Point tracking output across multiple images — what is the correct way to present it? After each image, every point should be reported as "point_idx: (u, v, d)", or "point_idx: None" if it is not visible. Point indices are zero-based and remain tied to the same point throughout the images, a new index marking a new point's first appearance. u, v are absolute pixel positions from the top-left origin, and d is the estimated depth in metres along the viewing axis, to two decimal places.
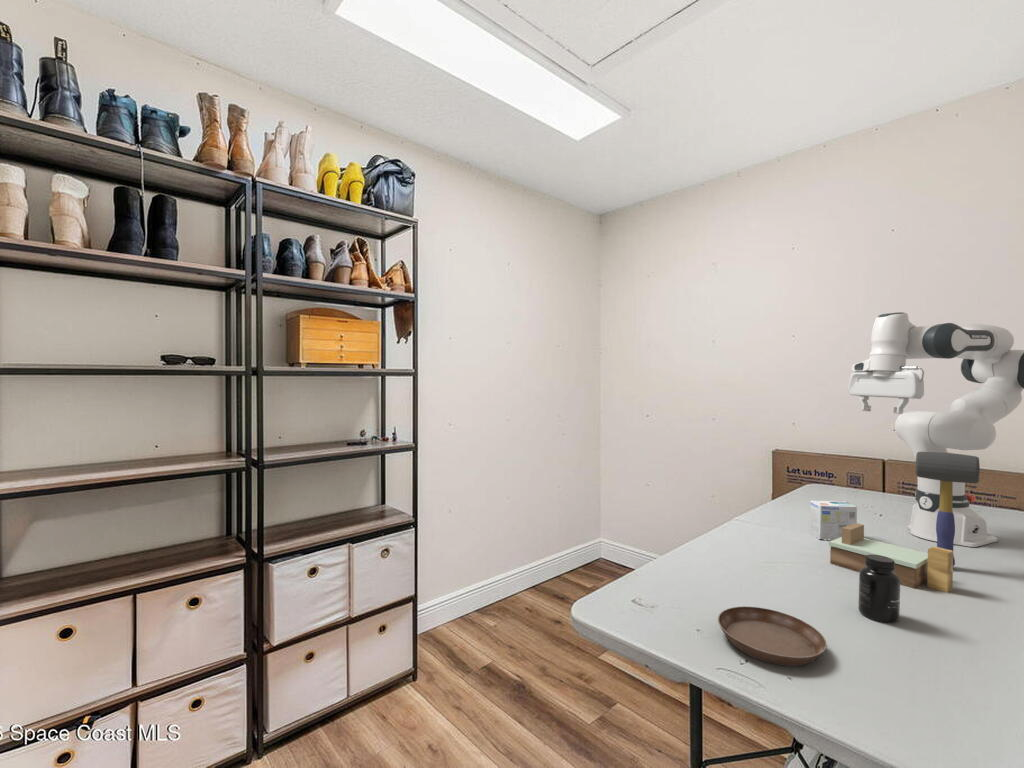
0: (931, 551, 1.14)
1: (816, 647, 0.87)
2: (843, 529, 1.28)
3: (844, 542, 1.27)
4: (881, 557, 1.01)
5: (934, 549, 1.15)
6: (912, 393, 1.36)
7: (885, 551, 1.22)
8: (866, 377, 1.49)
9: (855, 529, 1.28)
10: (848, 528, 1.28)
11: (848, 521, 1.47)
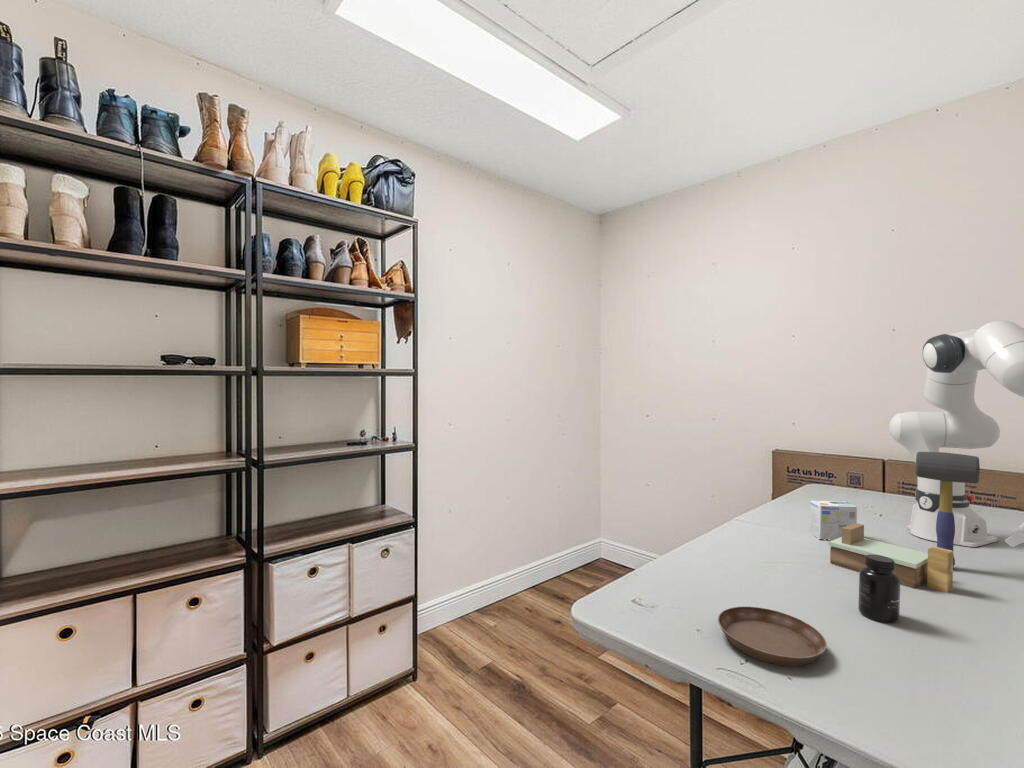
0: (931, 551, 1.14)
1: (816, 647, 0.87)
2: (843, 529, 1.28)
3: (844, 542, 1.27)
4: (881, 557, 1.01)
5: (934, 549, 1.15)
6: None
7: (885, 551, 1.22)
8: None
9: (855, 529, 1.28)
10: (848, 528, 1.28)
11: (848, 521, 1.47)
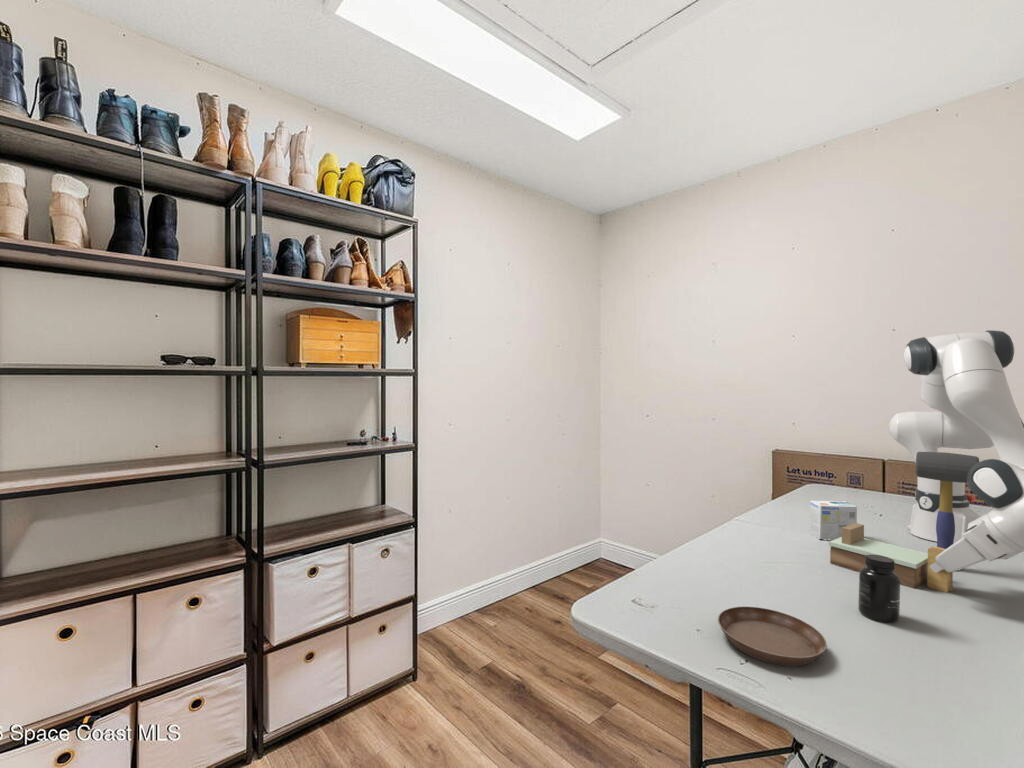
0: (931, 551, 1.14)
1: (816, 646, 0.87)
2: (843, 529, 1.28)
3: (844, 542, 1.27)
4: (881, 557, 1.01)
5: (934, 549, 1.15)
6: None
7: (885, 551, 1.22)
8: None
9: (855, 529, 1.28)
10: (848, 528, 1.28)
11: (848, 521, 1.47)
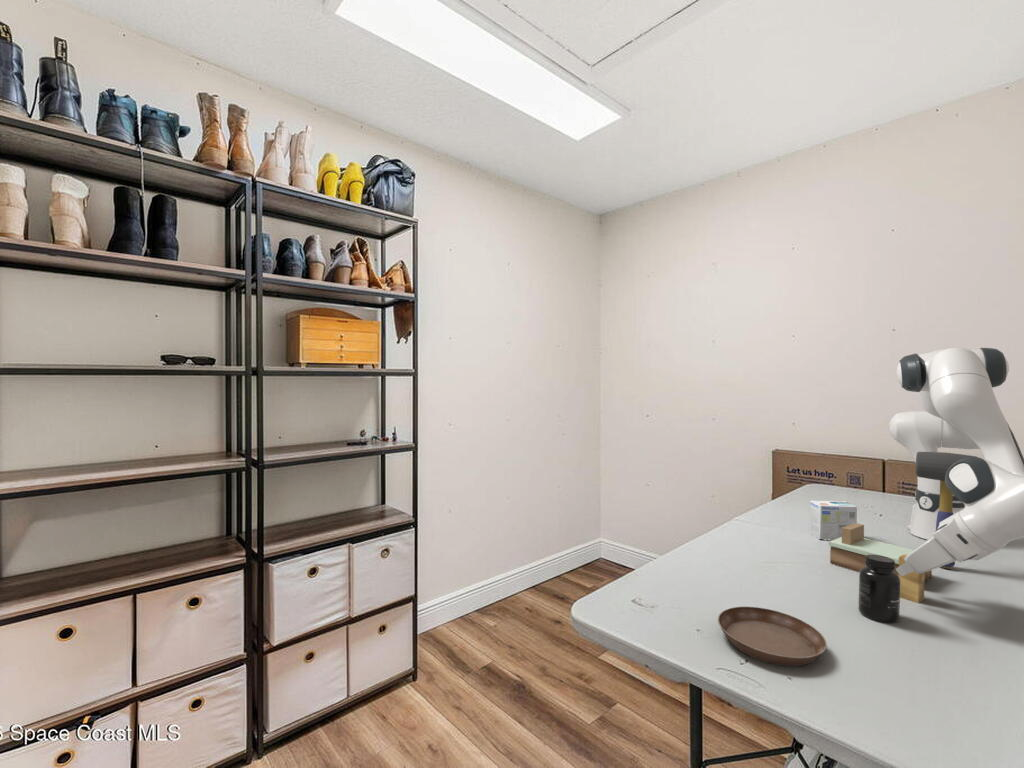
0: (902, 559, 1.09)
1: (816, 646, 0.87)
2: (843, 529, 1.28)
3: (844, 542, 1.27)
4: (881, 557, 1.01)
5: None
6: None
7: (885, 551, 1.22)
8: None
9: (855, 529, 1.28)
10: (848, 528, 1.28)
11: (848, 521, 1.47)
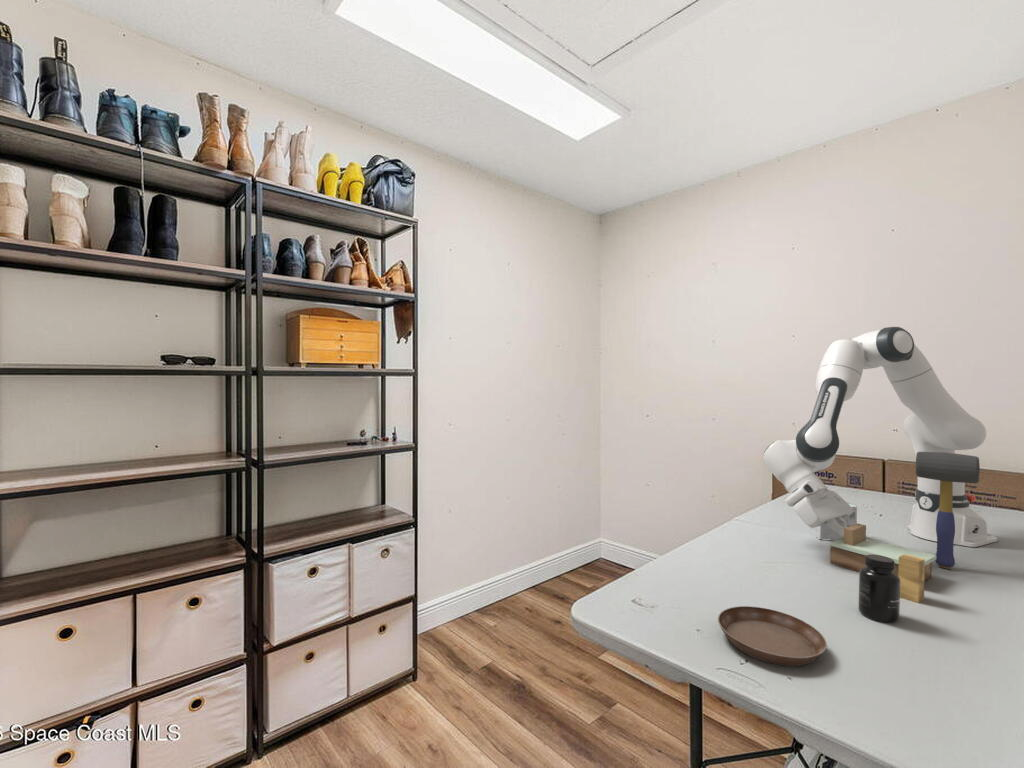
0: (902, 559, 1.09)
1: (817, 647, 0.87)
2: (845, 529, 1.27)
3: (846, 543, 1.27)
4: (881, 557, 1.01)
5: (905, 557, 1.09)
6: None
7: (887, 552, 1.21)
8: (815, 500, 1.33)
9: (857, 529, 1.28)
10: (850, 528, 1.27)
11: (848, 521, 1.47)
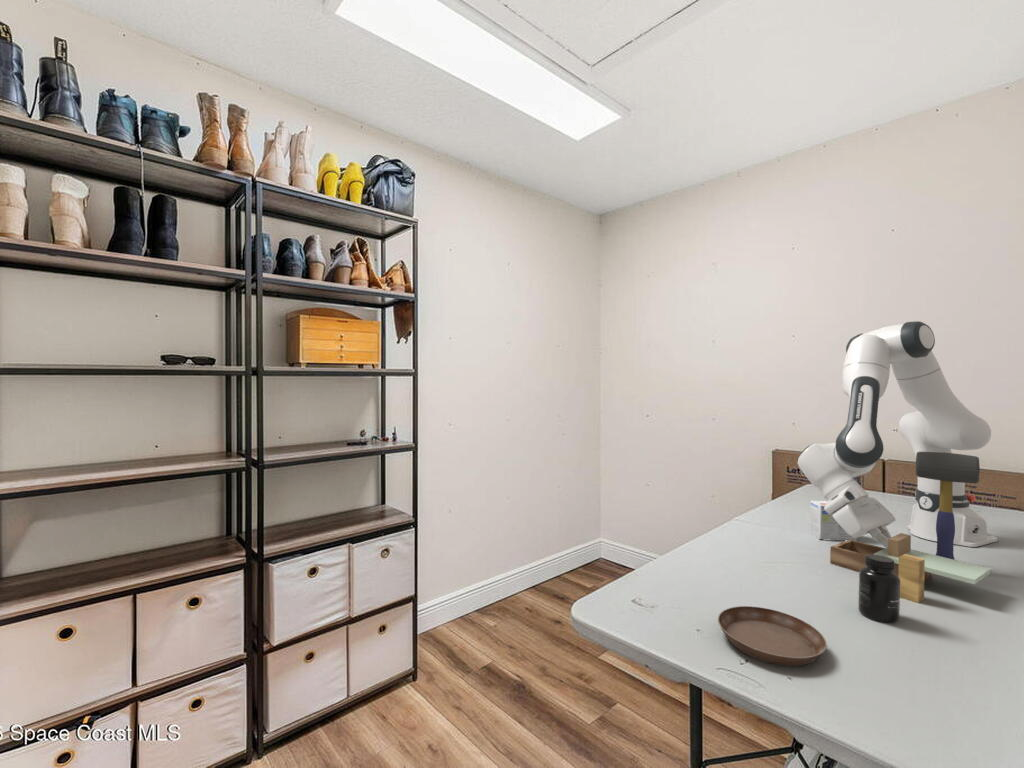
0: (902, 559, 1.09)
1: (817, 647, 0.87)
2: (890, 540, 1.19)
3: (891, 554, 1.19)
4: (881, 557, 1.01)
5: (905, 557, 1.09)
6: None
7: (937, 564, 1.13)
8: (857, 508, 1.25)
9: (902, 540, 1.19)
10: (895, 539, 1.19)
11: None
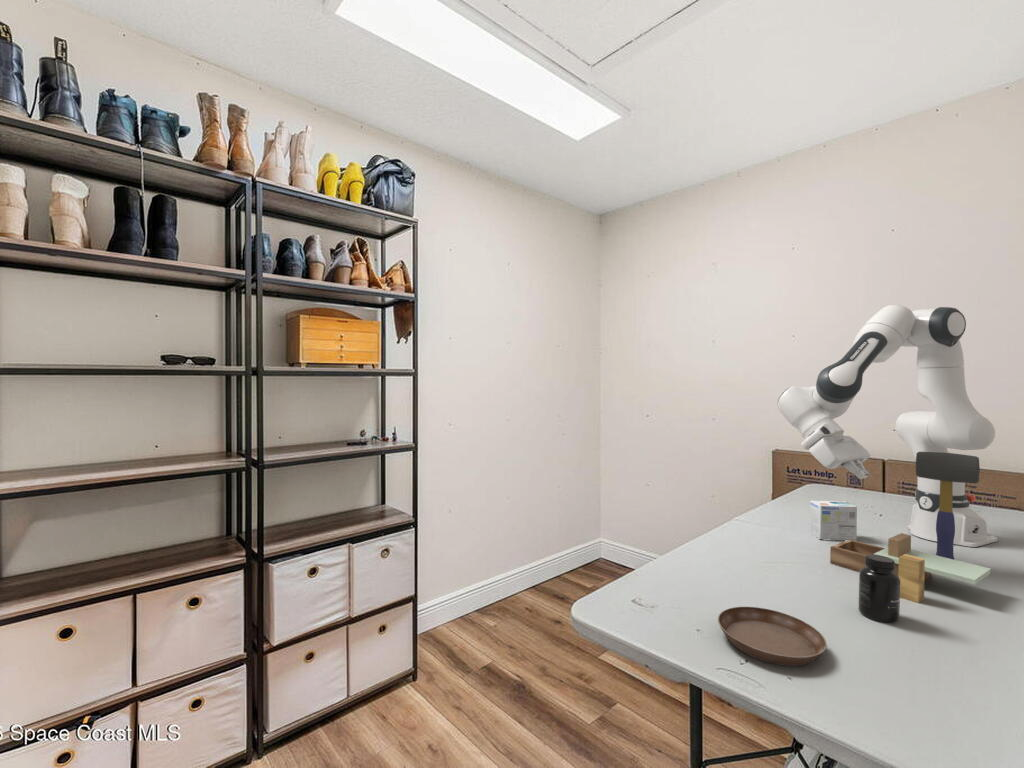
0: (902, 559, 1.09)
1: (817, 647, 0.87)
2: (890, 540, 1.19)
3: (891, 554, 1.19)
4: (881, 557, 1.01)
5: (905, 557, 1.09)
6: (868, 452, 1.34)
7: (937, 564, 1.13)
8: (832, 442, 1.30)
9: (902, 540, 1.19)
10: (895, 539, 1.19)
11: (848, 521, 1.47)
